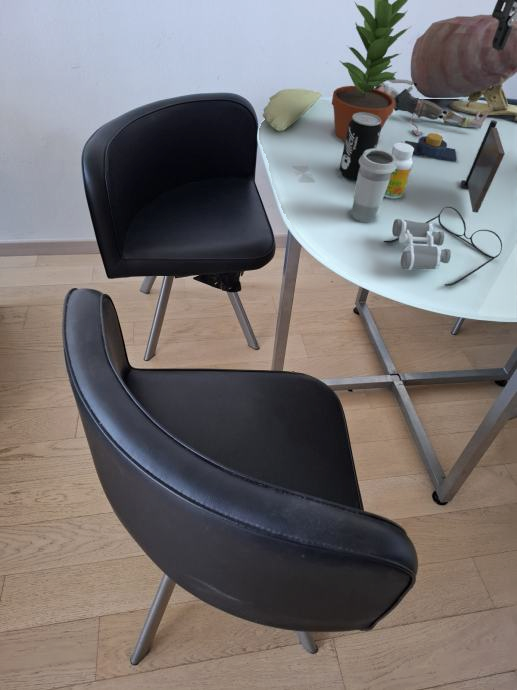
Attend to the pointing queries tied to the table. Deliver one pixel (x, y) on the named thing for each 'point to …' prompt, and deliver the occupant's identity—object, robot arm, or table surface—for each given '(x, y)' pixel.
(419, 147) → the doorbell
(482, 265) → the glasses
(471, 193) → the door
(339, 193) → the table surface
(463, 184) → the upright peg on plate
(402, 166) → the supplement bottle
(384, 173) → the cup
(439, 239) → the binoculars
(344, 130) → the potted plant
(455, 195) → the table surface
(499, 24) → the robot arm
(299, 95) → the dumpling
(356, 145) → the beverage can
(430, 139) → the bell button
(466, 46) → the sculpture
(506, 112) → the sandal
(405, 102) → the toy
